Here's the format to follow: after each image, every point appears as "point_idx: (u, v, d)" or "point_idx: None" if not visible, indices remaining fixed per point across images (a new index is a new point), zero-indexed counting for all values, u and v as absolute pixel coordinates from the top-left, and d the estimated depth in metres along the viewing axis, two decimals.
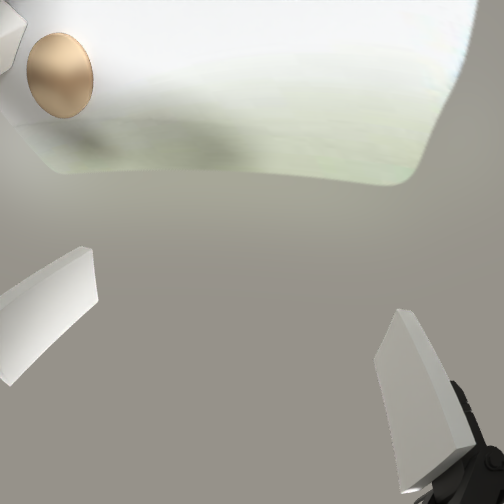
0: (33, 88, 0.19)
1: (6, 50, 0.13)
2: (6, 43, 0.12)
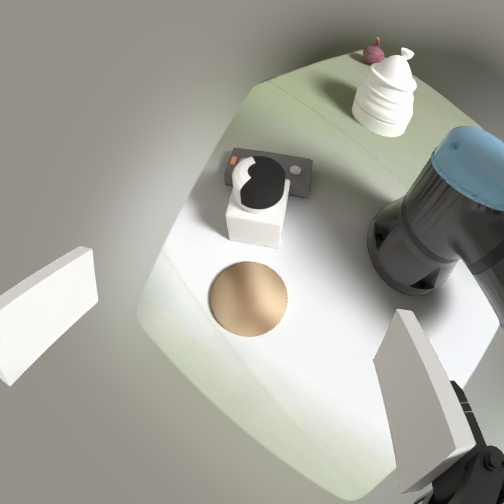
0: (226, 275, 0.38)
1: (258, 239, 0.38)
2: (267, 239, 0.37)
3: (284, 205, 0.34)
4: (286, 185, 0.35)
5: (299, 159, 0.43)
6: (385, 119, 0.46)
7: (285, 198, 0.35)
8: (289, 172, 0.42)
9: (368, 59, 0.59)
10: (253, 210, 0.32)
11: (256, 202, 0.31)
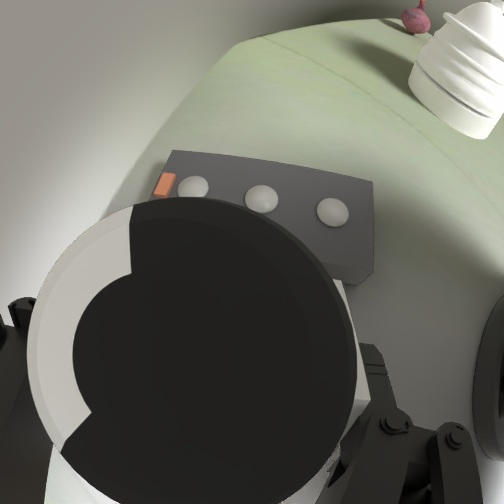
0: None
1: None
2: None
3: None
4: None
5: (340, 179, 0.16)
6: (477, 107, 0.19)
7: None
8: (315, 217, 0.15)
9: (409, 25, 0.33)
10: None
11: None
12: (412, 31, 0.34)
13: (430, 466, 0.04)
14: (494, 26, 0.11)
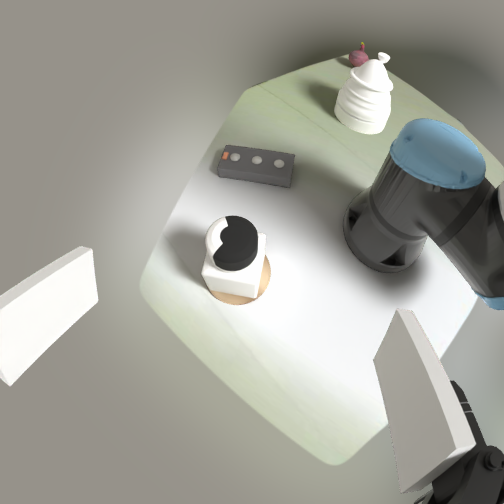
0: None
1: (235, 291, 0.39)
2: (244, 292, 0.38)
3: (259, 263, 0.35)
4: (261, 240, 0.36)
5: (283, 154, 0.49)
6: (363, 118, 0.52)
7: (260, 255, 0.36)
8: (273, 165, 0.48)
9: (353, 63, 0.66)
10: (227, 271, 0.33)
11: (229, 266, 0.32)
12: (356, 66, 0.68)
13: None
14: (372, 74, 0.44)
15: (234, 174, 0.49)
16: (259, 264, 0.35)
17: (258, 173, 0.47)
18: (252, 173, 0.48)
